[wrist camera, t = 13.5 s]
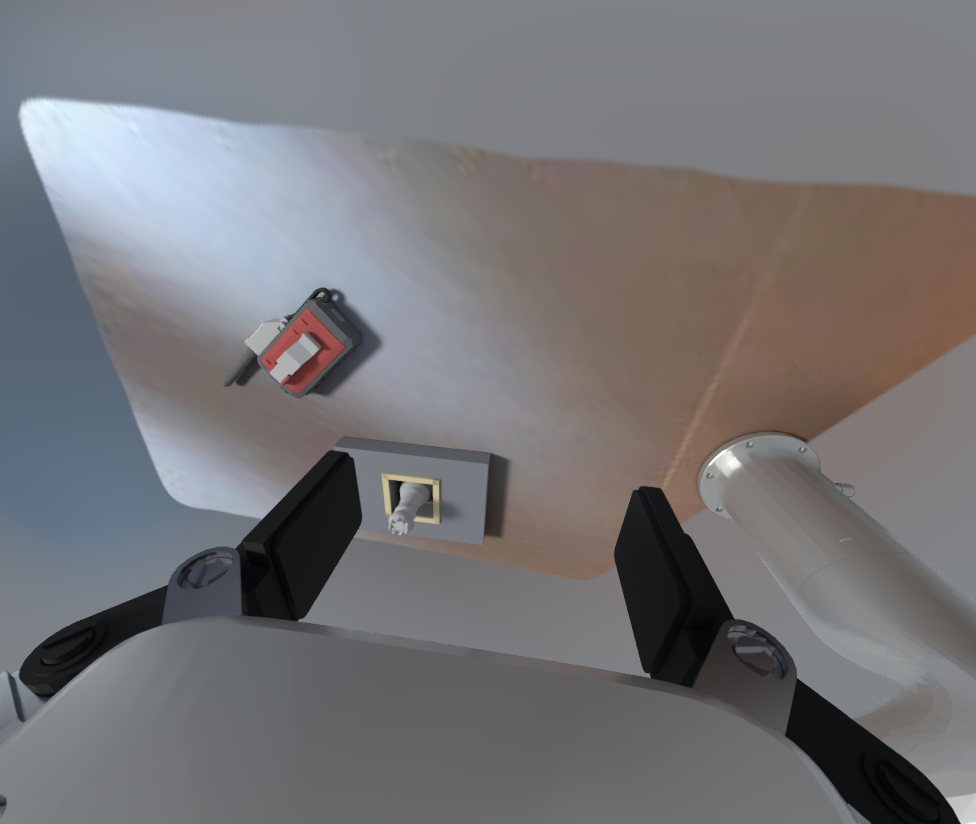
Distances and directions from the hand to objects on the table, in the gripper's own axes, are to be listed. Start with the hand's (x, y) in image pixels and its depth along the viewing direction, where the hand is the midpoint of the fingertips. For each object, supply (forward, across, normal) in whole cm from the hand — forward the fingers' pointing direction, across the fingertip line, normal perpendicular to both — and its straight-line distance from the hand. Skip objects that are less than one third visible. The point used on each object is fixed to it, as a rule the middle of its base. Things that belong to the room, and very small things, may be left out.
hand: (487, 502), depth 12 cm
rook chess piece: (+28, +12, +24) cm, 39 cm away
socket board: (+28, +12, +24) cm, 39 cm away
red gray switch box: (+29, +27, +6) cm, 40 cm away
